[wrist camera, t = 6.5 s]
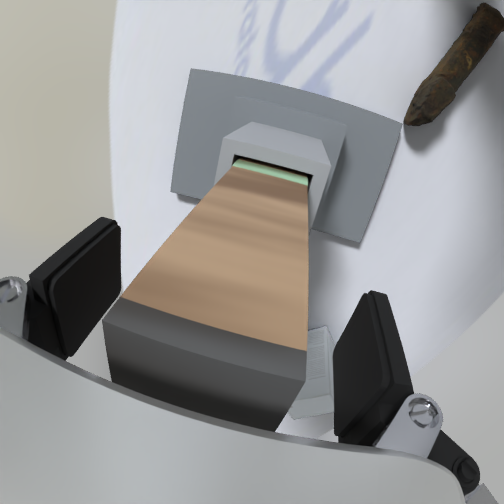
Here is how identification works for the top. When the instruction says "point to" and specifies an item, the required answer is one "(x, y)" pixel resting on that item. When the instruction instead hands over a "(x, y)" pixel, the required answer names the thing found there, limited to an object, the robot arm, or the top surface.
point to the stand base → (286, 145)
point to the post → (223, 303)
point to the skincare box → (316, 377)
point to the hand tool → (455, 66)
